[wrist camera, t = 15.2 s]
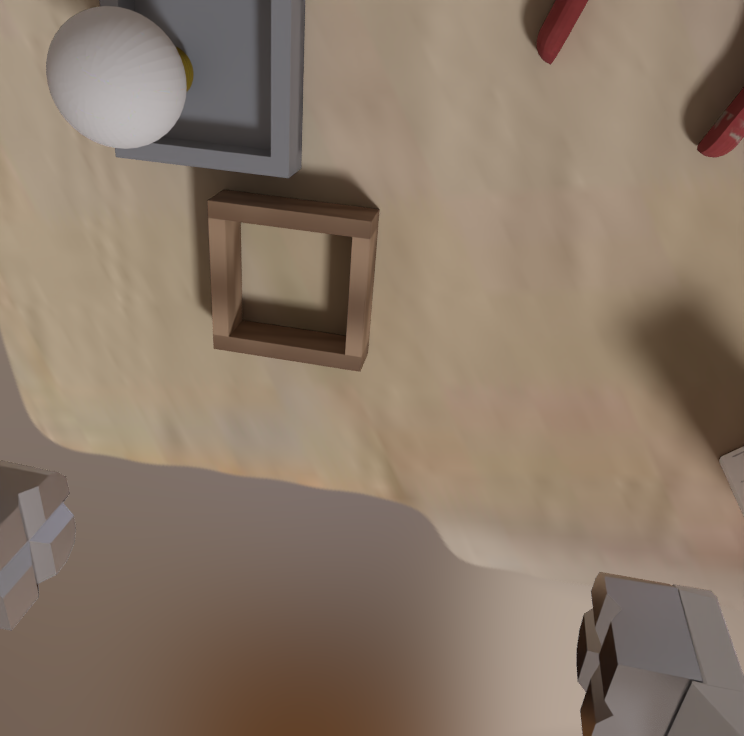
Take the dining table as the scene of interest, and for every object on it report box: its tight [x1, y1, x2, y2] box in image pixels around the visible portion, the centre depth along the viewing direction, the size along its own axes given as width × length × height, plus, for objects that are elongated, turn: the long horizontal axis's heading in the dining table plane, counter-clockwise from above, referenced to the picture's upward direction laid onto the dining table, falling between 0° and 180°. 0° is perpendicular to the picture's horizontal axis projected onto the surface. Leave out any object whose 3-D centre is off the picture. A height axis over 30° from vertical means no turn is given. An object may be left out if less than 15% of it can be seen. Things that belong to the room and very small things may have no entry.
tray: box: [99, 0, 305, 178], centre depth 37 cm, size 10×10×2 cm
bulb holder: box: [207, 190, 379, 371], centre depth 41 cm, size 9×9×2 cm
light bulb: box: [46, 6, 194, 149], centre depth 33 cm, size 6×6×10 cm
